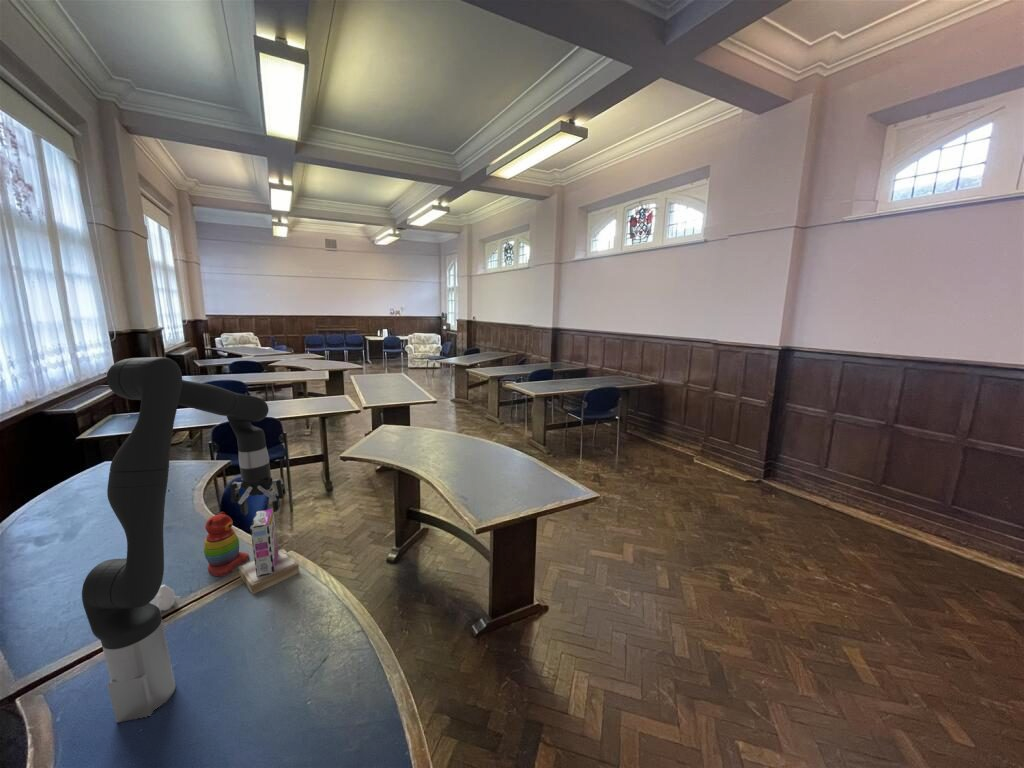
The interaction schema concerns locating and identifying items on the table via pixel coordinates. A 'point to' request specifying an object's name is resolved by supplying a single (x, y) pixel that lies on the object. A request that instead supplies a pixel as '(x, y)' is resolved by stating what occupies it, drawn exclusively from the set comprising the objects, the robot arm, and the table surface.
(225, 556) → the stacking bear
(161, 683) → the robot arm
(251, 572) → the tray
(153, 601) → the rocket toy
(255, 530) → the candy bar box
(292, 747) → the table surface
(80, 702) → the table surface
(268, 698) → the table surface
